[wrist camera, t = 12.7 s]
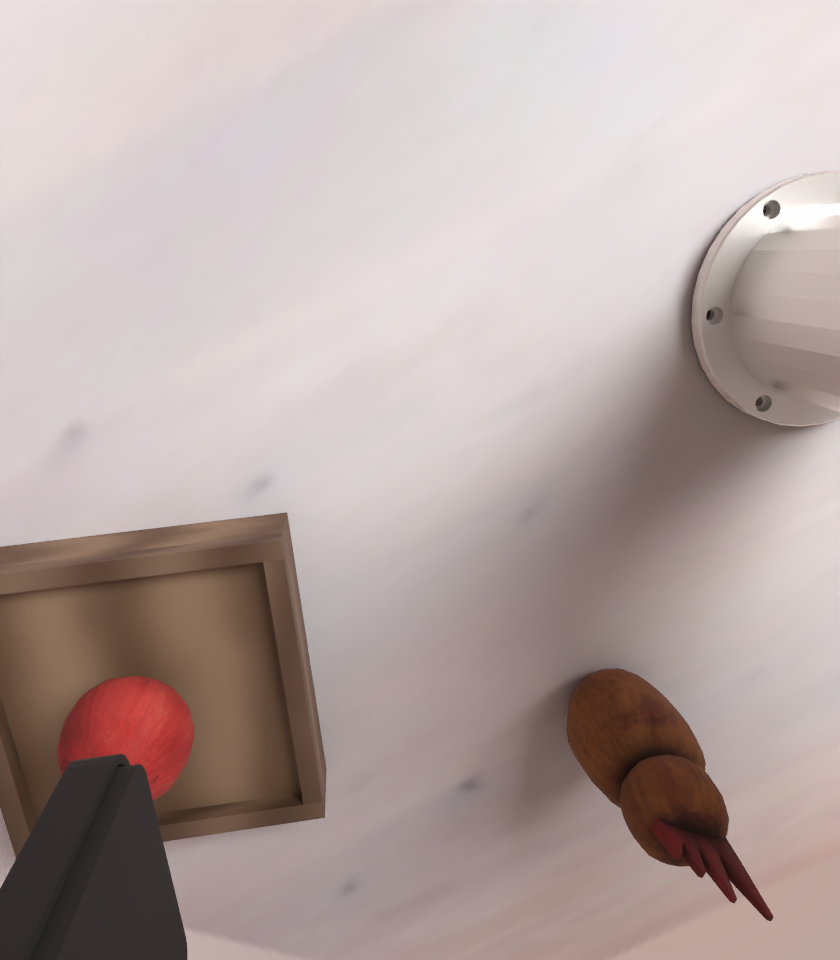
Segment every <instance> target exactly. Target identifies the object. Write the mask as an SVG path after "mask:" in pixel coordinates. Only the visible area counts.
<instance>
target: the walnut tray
mask: <svg viewBox="0 0 840 960" xmlns="http://www.w3.org/2000/svg"><path fill="white" fill-rule="evenodd" d="M128 676H143V677H148V678H152V679H157V680H159V681H161V682H163V683H165V684H167V685H169V686H170V687H172V688H174V689H175V690H176V691H177V693H178V694H179V695H180V696H181V698H182V699H183V700H184V701H185V703H186V704H187V706H188V707H189V709H190V713H191V716H192V720H193V724H194V739H193V744H192V749H191V754H190V758H189V760H188V762H187V764H186V766H185V768H184V769H183V771H182V772H181V774H180V775H179V777H178V778H177V780H176V781H175V783H174V784H173V785H172V787H171V788H170V789H169V790H168V791H167V792H165V793H164V794H162V795H161V796H159V797H158V798H156V799H155V800H153V803H154V807H155V811H156V815H157V820H158V824H159V828H160V832H161V836H162V840H163V841H170V840H177V839H184V838H190V837H197V836H204V835H211V834H217V833H224V832H231V831H238V830H244V829H251V828H258V827H265V826H271V825H278V824H285V823H292V822H298V821H305V820H312V819H319V818H325V794H326V764H325V758H324V751H323V745H322V738H321V732H320V725H319V718H318V712H317V705H316V699H315V692H314V686H313V679H312V673H311V666H310V660H309V653H308V647H307V640H306V633H305V627H304V620H303V614H302V607H301V601H300V594H299V588H298V581H297V575H296V568H295V561H294V555H293V548H292V542H291V535H290V529H289V522H288V516H287V513H280V514H272V515H264V516H255V517H247V518H239V519H230V520H222V521H214V522H205V523H197V524H189V525H180V526H172V527H163V528H155V529H147V530H138V531H130V532H122V533H113V534H105V535H97V536H88V537H80V538H71V539H63V540H55V541H46V542H38V543H30V544H21V545H13V546H5V547H0V807H1V810H2V814H3V817H4V820H5V823H6V827H7V830H8V833H9V836H10V840H11V843H12V846H13V849H14V853H15V856H16V859H17V857H18V855H19V853H20V852H21V850H22V848H23V846H24V844H25V842H26V841H27V839H28V837H29V835H30V833H31V831H32V830H33V828H34V826H35V824H36V822H37V820H38V819H39V817H40V815H41V813H42V811H43V809H44V808H45V806H46V804H47V802H48V800H49V798H50V797H51V795H52V793H53V791H54V789H55V787H56V786H57V784H58V782H59V780H60V778H61V771H60V767H59V763H58V759H57V747H58V743H59V739H60V734H61V730H62V727H63V725H64V722H65V719H66V717H67V716H68V714H69V713H70V711H71V710H72V709H73V707H74V706H75V704H76V703H77V702H78V700H79V699H80V698H81V697H82V696H83V695H84V694H85V693H86V692H88V691H89V690H90V689H92V688H94V687H96V686H97V685H99V684H101V683H102V682H104V681H106V680H108V679H111V678H119V677H128Z"/></svg>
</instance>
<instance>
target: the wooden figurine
mask: <svg viewBox="0 0 840 960" xmlns="http://www.w3.org/2000/svg"><path fill="white" fill-rule="evenodd" d="M567 735H568V742H569V744H570V746H571V749H572V751H573V753H574V755H575V756H576V758H577V759H578V761H579V762H580V764H581V766H582V767H583V769H584V770H585V772H586V773H587V775H588V776H589V778H590V779H591V781H592V782H593V783H594V784H595V785H596V786H597V787H598V788H599V789H600V790H601V791H602V792H603V793H604V794H605V795H606V796H607V798H608V799H609V800H610V801H611V802H612V803H614V804H615V805H617V806H618V807H620V808H621V810H622V813H623V816H624V819H625V822H626V824H627V826H628V828H629V830H630V832H631V833H632V835H633V837H634V838H635V839H636V841H637V842H638V843H639V844H640V846H641V847H642V848H643V849H644V850H645V851H646V852H647V854H648V855H649V856H651V857H653V858H655V859H657V860H659V861H661V862H663V863H666V864H669V865H674V866H690V867H691V868H692V869H693V871H694V872H695V873H696V875H697V876H698V877H701V878H703V876H704V874H705V873H706V872H707V873H708V874H709V876H710V877H711V878H712V880H713V881H714V882H715V883H716V885H717V886H718V887H719V888H720V890H721V891H722V892H723V893H724V895H725V896H726V897H727V898H728V900H729V901H730V902H732V903H735V902H736V900H737V897H736V895H735V893H734V890H733V888H732V885H731V883H730V881H731V882H732V883H733V884H734V885H735V886H736V888H737V889H738V890H739V891H740V892H741V893H742V894H743V895H744V896H745V897H746V898H747V899H748V900H749V902H750V903H751V904H752V905H753V906H754V907H755V908H756V909H757V910H758V911H759V912H760V913H761V914H762V915H763V917H765V919H767V920H769V921H771V920H772V919H773V915H772V914H771V912H770V910H769V908H768V907H767V905H766V903H765V902H764V900H763V898H762V897H761V895H760V893H759V892H758V890H757V888H756V887H755V885H754V883H753V882H752V880H751V878H750V876H749V875H748V873H747V871H746V870H745V868H744V866H743V865H742V863H741V861H740V860H739V858H738V857H737V855H736V853H735V852H734V850H733V849H732V847H731V845H730V844H729V842H728V841H727V839H726V835H727V831H728V822H729V818H728V814H727V810H726V806H725V803H724V800H723V797H722V795H721V793H720V792H719V790H718V789H717V787H716V786H715V784H714V783H713V781H712V780H711V779H710V777H709V776H708V774H707V773H706V772H705V759H704V755H703V752H702V750H701V748H700V746H699V744H698V742H697V740H696V738H695V736H694V734H693V732H692V730H691V729H690V727H689V725H688V724H687V722H686V721H685V720H684V718H683V717H682V716H681V714H680V713H679V712H678V711H677V710H676V709H675V708H674V706H673V705H672V704H671V703H670V702H669V701H668V700H667V699H666V698H665V697H664V696H663V695H662V694H661V693H660V692H659V691H658V690H657V689H655V688H654V687H653V686H652V685H651V684H649V683H648V682H647V681H645V680H644V679H642V678H641V677H640V676H638V675H635V674H633V673H631V672H627V671H625V670H621V669H618V668H617V669H603V670H600V671H598V672H595V673H593V674H590V675H588V676H587V677H586V678H585V679H584V680H583V681H582V682H581V683H580V684H579V685H578V686H577V688H576V690H575V691H574V693H573V694H572V696H571V699H570V702H569V710H568V719H567ZM729 880H730V881H729Z"/></svg>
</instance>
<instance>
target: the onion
mask: <svg viewBox="0 0 840 960" xmlns="http://www.w3.org/2000/svg"><path fill="white" fill-rule="evenodd" d="M193 739H194V724H193V720H192V716H191V713H190V709H189V707H188V706H187V704H186V703H185V701H184V700H183V699H182V698H181V696H180V695H179V694H178V693H177V691H176V690H175V689H174V688H172V687H170V686H169V685H167V684H165V683H163V682H161V681H159V680H157V679H152V678H148V677H143V676H128V677H119V678H111V679H108V680H106V681H104V682H102V683H101V684H99V685H97V686H96V687H94V688H92V689H90V690H89V691H88V692H86V693H85V694H84V695H83V696H82V697H81V698H80V699H79V700H78V702H77V703H76V704H75V706H74V707H73V709H72V710H71V711H70V713H69V714H68V716H67V717H66V719H65V722H64V725H63V727H62V730H61V734H60V739H59V743H58V747H57V759H58V763H59V767H60V771H61V776H62V775H63V773H64V771H65V769H66V768H67V766H68V765H69V764H70V762H72V761H74V760H79V759H87V758H94V757H101V756H108V755H115V754H123V755H125V756H126V757H127V759H128V760H129V763H130V765H136V764H141V765H143V767H144V769H145V771H146V774H147V778H148V782H149V786H150V791H151V795H152V799H153V800H155V799H156V798H158V797H159V796H161V795H162V794H164V793H165V792H167V791H168V790H169V789H170V788H171V787H172V785H173V784H174V783H175V781H176V780H177V778H178V777H179V775H180V774H181V772H182V771H183V769H184V768H185V766H186V764H187V762H188V760H189V758H190V754H191V749H192V744H193Z"/></svg>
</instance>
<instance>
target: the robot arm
mask: <svg viewBox="0 0 840 960" xmlns="http://www.w3.org/2000/svg"><path fill="white" fill-rule="evenodd" d="M764 207H765V208H766V212H765V214H763V208H764ZM708 310H709V311H710V313H711V314H710V317H709V318H708V319H706V315H707V312H708ZM691 324H692V332H693V340H694V346H695V349H696V352H697V355H698V358H699V361H700V364H701V367H702V368H703V370H704V372H705V374H706V375H707V377H708V379H709V381H710V382H711V384H712V385H713V386H714V387H715V389H716V390H717V391H718V392H719V393H720V394H721V395H722V396H723V397H724V398H725V400H727V401H728V402H730V403H731V404H732V405H734V406H735V407H737V408H738V409H739V410H741V411H742V412H745V413H747V414H749V415H752V416H754V417H756V418H758V419H761V420H764V421H768V422H771V423H775V424H778V425H787V426H799V427H801V426H810V425H818V424H824V423H827V422H830V421H834V420H837V419H840V171H822V172H816V173H810V174H804V175H801V176H798V177H795V178H791V179H788V180H785V181H782V182H780V183H778V184H776V185H774V186H772V187H770V188H768V189H767V190H765V191H763V192H761V193H759V194H758V195H757V196H755V197H754V198H753V199H752V200H750V201H749V202H748V203H747V204H745V205H744V206H743V207H741V208H740V209H739V210H738V211H737V212H736V214H735V215H734V216H733V217H732V218H731V219H730V220H729V221H728V222H727V224H726V225H725V226H724V227H723V228H722V229H721V231H720V233H719V234H718V236H717V237H716V239H715V240H714V242H713V244H712V245H711V247H710V248H709V250H708V252H707V254H706V257H705V259H704V262H703V264H702V266H701V269H700V271H699V273H698V277H697V282H696V286H695V290H694V294H693V300H692V318H691ZM757 399H758V402H757V403H756V400H757ZM0 960H187V942H186V936H185V932H184V928H183V924H182V919H181V915H180V911H179V907H178V903H177V899H176V895H175V890H174V886H173V882H172V878H171V874H170V870H169V865H168V861H167V857H166V853H165V849H164V845H163V840H162V836H161V832H160V828H159V824H158V820H157V815H156V811H155V807H154V803H153V799H152V795H151V791H150V786H149V782H148V778H147V774H146V771H145V769H144V767H143V765H141V764H136V765H130V763H129V760H128V759H127V757H126V756H125V755H123V754H115V755H108V756H101V757H94V758H87V759H79V760H74V761H72V762H70V764H69V765H68V766H67V768H66V769H65V771H64V773H63V775H62V776H61V778H60V780H59V782H58V784H57V786H56V787H55V789H54V791H53V793H52V795H51V797H50V798H49V800H48V802H47V804H46V806H45V808H44V809H43V811H42V813H41V815H40V817H39V819H38V820H37V822H36V824H35V826H34V828H33V830H32V831H31V833H30V835H29V837H28V839H27V841H26V842H25V844H24V846H23V848H22V850H21V852H20V853H19V855H18V857H17V859H16V861H15V863H14V864H13V866H12V868H11V870H10V872H9V874H8V875H7V877H6V879H5V881H4V883H3V885H2V887H1V888H0Z"/></svg>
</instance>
